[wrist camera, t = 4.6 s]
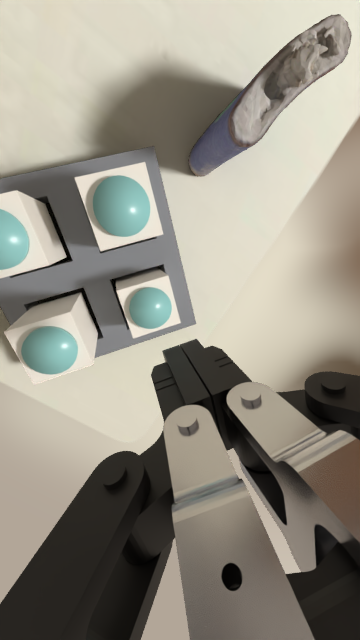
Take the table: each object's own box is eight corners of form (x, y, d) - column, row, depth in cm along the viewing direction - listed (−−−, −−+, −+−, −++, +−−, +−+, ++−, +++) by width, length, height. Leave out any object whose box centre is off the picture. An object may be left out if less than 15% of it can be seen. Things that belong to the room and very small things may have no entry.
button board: (-38, 198, 19) (-63, 192, 16) (148, 157, 21) (153, 146, 19) (47, 360, 25) (38, 376, 22) (187, 314, 27) (196, 323, 24)
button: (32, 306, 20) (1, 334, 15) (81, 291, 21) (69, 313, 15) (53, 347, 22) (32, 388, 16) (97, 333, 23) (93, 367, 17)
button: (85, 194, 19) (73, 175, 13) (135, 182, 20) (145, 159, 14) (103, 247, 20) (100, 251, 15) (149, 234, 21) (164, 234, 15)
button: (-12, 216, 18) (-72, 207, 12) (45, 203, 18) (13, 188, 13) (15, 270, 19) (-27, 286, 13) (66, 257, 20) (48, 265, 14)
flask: (198, 183, 23) (262, 144, 13) (178, 154, 22) (232, 88, 12) (271, 113, 23) (392, 20, 13) (255, 80, 22) (373, -50, 12)
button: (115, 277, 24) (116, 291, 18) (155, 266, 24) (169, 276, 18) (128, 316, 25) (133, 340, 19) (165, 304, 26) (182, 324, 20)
